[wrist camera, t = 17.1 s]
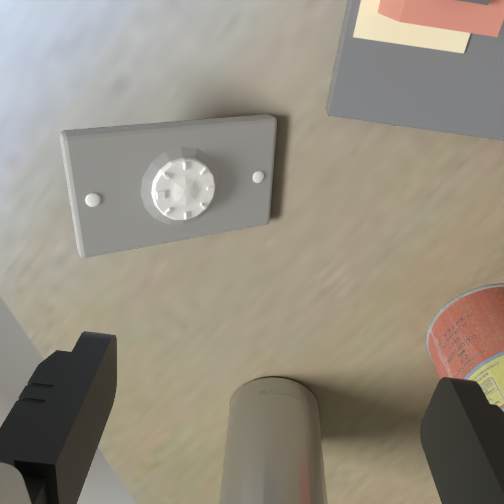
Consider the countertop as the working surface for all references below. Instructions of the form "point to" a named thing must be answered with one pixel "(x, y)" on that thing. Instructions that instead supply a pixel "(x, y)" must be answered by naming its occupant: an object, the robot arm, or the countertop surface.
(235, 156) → the light switch
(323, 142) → the countertop surface
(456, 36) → the panel
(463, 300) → the canned food
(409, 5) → the pink square block
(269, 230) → the countertop surface
